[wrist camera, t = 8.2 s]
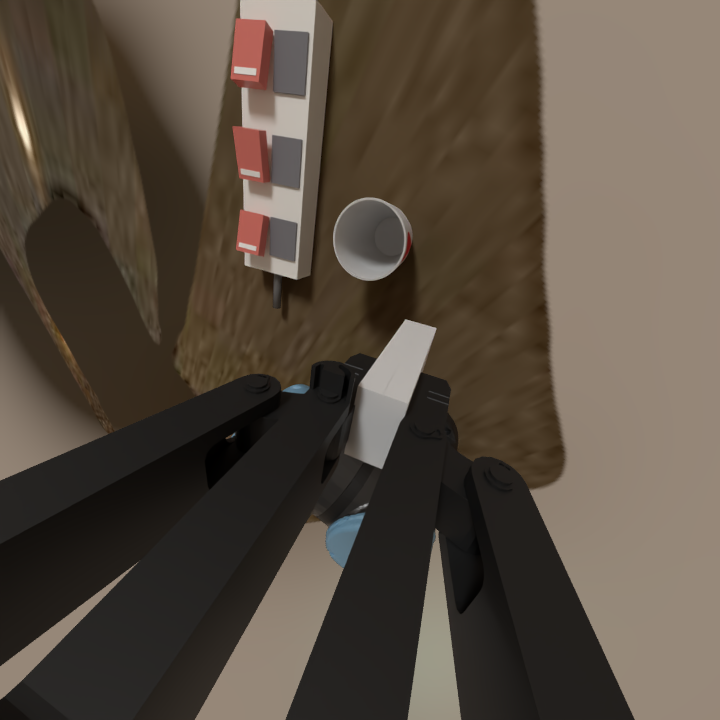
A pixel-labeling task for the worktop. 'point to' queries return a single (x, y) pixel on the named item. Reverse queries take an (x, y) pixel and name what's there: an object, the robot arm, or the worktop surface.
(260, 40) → the block
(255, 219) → the rocker
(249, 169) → the plate
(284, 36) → the power strip
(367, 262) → the cup
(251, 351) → the worktop surface
